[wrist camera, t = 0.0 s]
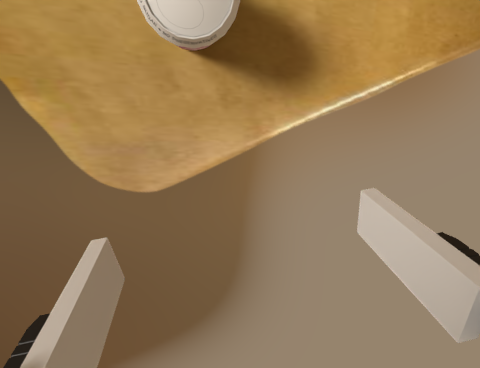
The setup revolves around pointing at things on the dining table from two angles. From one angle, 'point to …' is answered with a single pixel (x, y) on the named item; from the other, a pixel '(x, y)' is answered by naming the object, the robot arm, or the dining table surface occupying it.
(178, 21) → the supplement can
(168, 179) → the dining table surface
